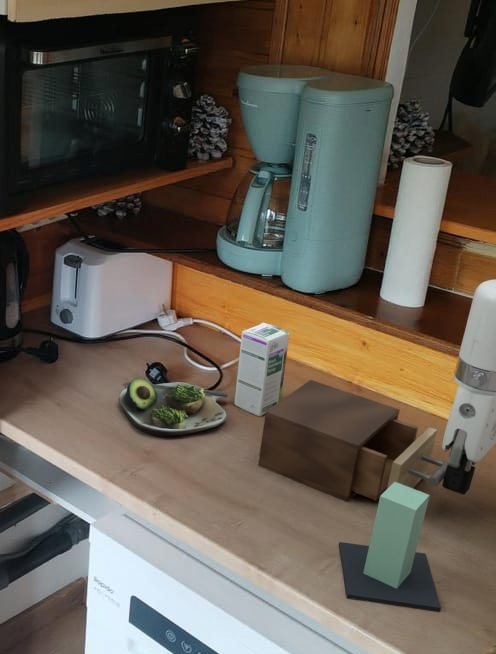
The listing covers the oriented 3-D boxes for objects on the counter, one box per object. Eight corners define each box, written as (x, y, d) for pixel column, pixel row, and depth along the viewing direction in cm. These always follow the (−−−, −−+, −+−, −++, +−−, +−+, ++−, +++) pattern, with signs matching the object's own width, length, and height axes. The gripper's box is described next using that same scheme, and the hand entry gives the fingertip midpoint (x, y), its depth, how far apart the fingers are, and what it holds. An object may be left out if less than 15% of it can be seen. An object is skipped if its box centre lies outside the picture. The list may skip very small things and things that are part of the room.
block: (410, 572, 117) (429, 495, 111) (396, 588, 114) (416, 510, 109) (377, 557, 119) (394, 481, 114) (363, 573, 117) (380, 495, 111)
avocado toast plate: (207, 382, 166) (210, 359, 164) (252, 430, 151) (255, 405, 149) (107, 393, 162) (108, 370, 160) (142, 443, 147) (144, 418, 145)
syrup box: (260, 417, 154) (271, 340, 148) (232, 404, 159) (241, 329, 152) (280, 407, 158) (291, 331, 151) (252, 395, 162) (262, 320, 155)
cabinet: (388, 463, 142) (399, 409, 137) (347, 502, 132) (358, 445, 128) (301, 430, 151) (310, 379, 146) (257, 465, 141) (265, 411, 137)
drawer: (455, 484, 135) (467, 439, 131) (421, 523, 126) (432, 476, 122) (341, 442, 145) (350, 399, 142) (302, 475, 137) (310, 431, 133)
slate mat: (424, 556, 121) (425, 553, 120) (440, 611, 111) (441, 607, 111) (338, 545, 123) (339, 541, 123) (346, 598, 113) (347, 594, 113)
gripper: (498, 401, 112) (464, 522, 120) (533, 363, 122) (500, 477, 130) (436, 382, 117) (408, 500, 125) (476, 347, 127) (447, 458, 135)
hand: (455, 488), depth 128 cm, fingers closed
